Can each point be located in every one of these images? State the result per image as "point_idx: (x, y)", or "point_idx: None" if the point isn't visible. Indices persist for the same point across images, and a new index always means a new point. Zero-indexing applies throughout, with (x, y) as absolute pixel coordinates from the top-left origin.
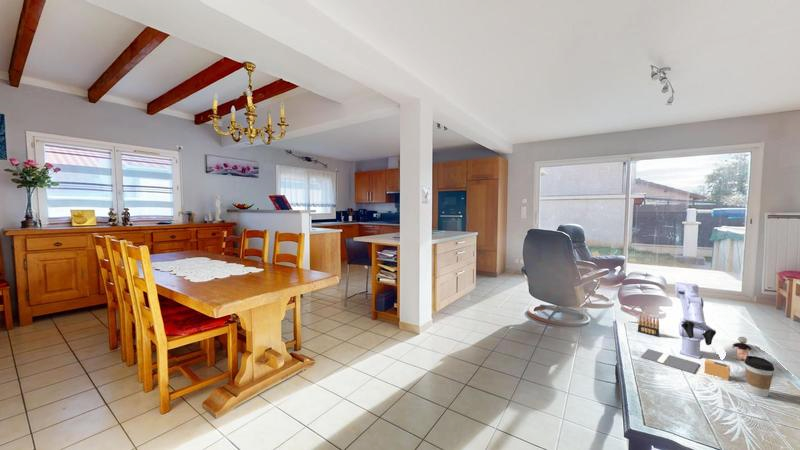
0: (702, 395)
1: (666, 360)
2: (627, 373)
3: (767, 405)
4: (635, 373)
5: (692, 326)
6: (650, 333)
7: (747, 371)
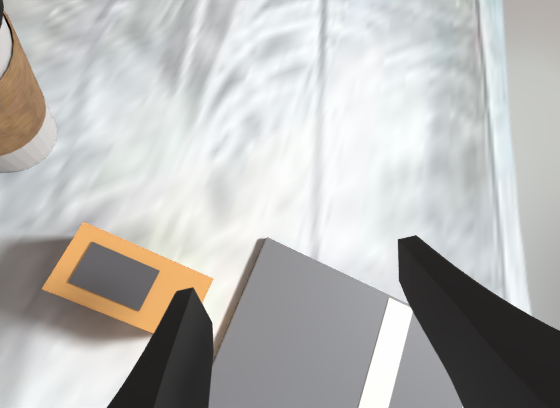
0: (294, 30)
1: (368, 351)
2: (507, 119)
3: (47, 18)
4: (485, 131)
5: (535, 362)
6: None
7: (20, 51)
